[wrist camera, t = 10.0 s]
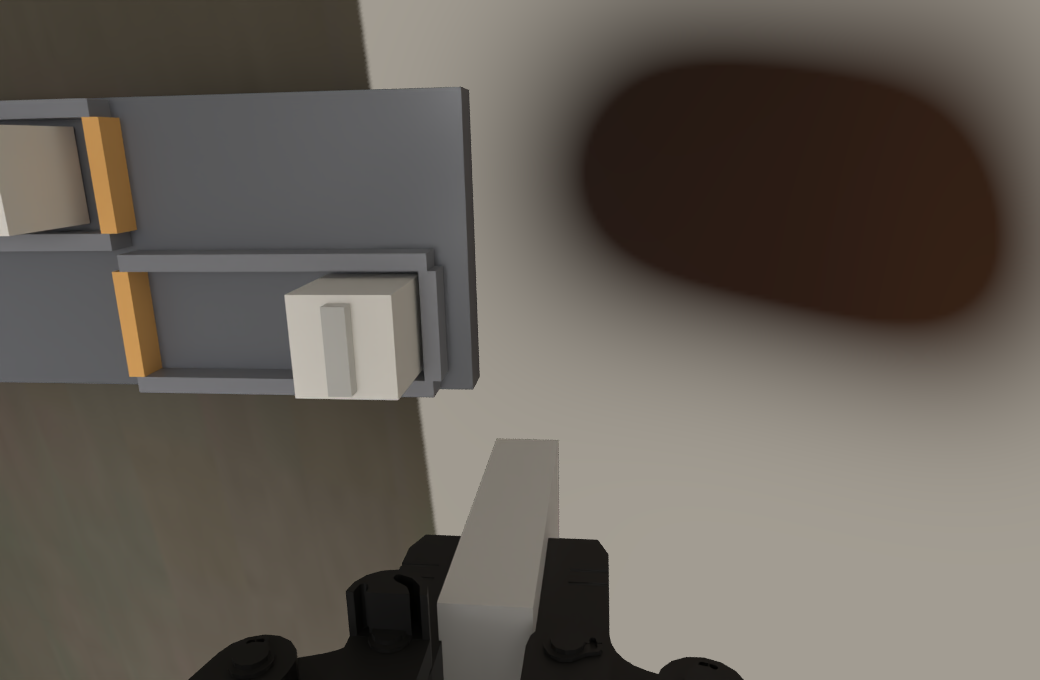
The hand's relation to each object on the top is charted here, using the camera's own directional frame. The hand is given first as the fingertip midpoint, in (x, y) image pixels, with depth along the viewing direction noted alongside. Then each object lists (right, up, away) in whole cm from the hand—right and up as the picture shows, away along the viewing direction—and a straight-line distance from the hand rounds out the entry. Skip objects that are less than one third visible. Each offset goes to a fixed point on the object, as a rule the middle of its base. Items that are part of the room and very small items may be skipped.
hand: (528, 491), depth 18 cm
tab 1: (-23, +12, +17) cm, 31 cm away
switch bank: (-19, +9, +20) cm, 29 cm away
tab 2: (-7, +5, +17) cm, 19 cm away
